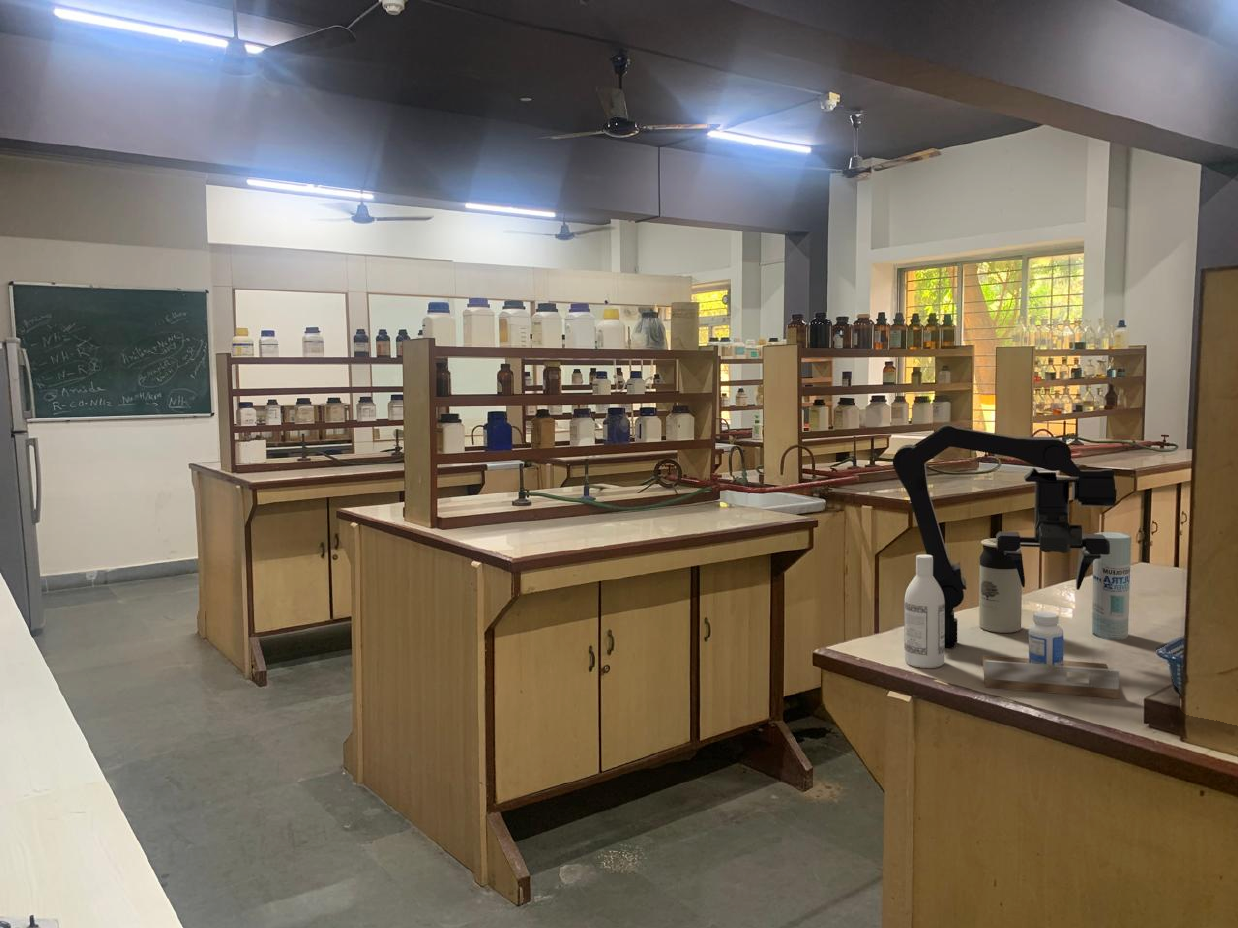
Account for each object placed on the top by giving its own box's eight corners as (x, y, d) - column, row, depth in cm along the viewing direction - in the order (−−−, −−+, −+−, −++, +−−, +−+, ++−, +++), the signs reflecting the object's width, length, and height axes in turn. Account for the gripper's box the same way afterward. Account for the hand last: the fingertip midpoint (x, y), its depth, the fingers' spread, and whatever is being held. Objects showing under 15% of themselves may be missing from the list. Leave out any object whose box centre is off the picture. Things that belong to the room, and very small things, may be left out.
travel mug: (1003, 621, 190) (1004, 536, 188) (1030, 631, 182) (1031, 543, 181) (970, 625, 188) (971, 539, 186) (996, 635, 180) (997, 546, 179)
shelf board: (985, 687, 152) (985, 661, 152) (982, 662, 165) (982, 638, 164) (1119, 698, 145) (1119, 671, 145) (1105, 671, 158) (1106, 646, 157)
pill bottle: (1058, 664, 158) (1059, 609, 157) (1067, 674, 153) (1068, 618, 152) (1024, 663, 159) (1025, 609, 158) (1032, 673, 154) (1033, 617, 153)
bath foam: (934, 655, 170) (934, 550, 168) (951, 667, 163) (951, 558, 161) (898, 658, 169) (898, 553, 167) (914, 670, 162) (914, 560, 160)
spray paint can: (1117, 629, 182) (1120, 531, 179) (1135, 639, 175) (1138, 537, 173) (1084, 630, 182) (1086, 532, 180) (1101, 640, 175) (1104, 538, 173)
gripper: (999, 511, 163) (998, 595, 165) (1115, 513, 157) (1113, 601, 158) (996, 502, 174) (995, 581, 175) (1105, 504, 167) (1103, 586, 169)
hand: (1050, 587), depth 169 cm, fingers open, 9 cm apart
